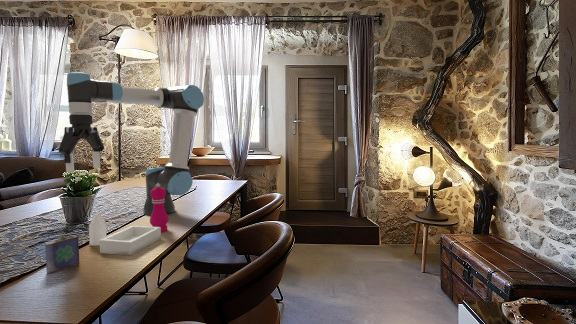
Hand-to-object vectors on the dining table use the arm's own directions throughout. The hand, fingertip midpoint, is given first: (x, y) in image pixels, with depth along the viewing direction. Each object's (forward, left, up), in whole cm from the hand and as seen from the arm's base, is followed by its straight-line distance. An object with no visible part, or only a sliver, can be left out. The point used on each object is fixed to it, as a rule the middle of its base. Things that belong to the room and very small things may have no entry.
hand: (84, 169), depth 131 cm
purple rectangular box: (+28, +15, -27) cm, 42 cm away
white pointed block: (+6, +9, -27) cm, 29 cm away
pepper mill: (-12, +23, -27) cm, 38 cm away
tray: (+6, +23, -27) cm, 36 cm away
